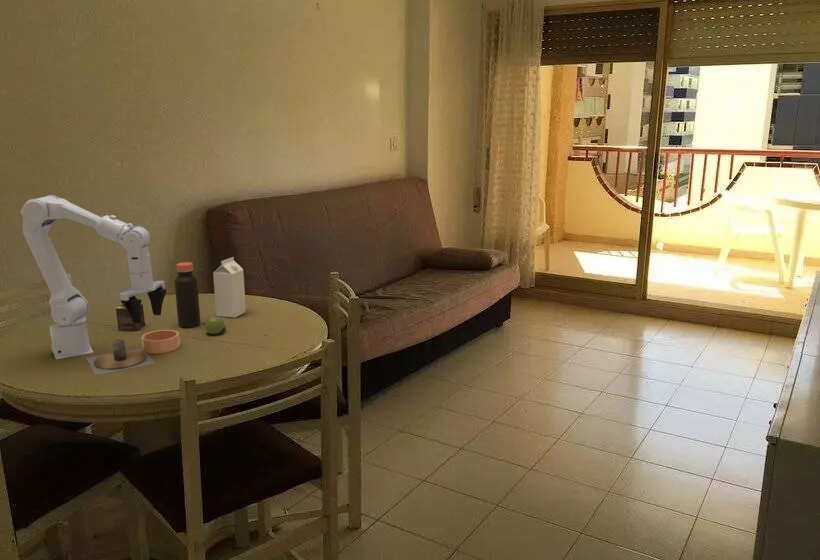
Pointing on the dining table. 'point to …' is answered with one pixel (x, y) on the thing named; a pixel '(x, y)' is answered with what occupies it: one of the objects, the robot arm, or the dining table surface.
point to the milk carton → (229, 289)
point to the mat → (103, 371)
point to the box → (128, 319)
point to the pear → (214, 325)
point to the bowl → (160, 341)
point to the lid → (119, 357)
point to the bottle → (187, 296)
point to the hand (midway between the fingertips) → (147, 318)
